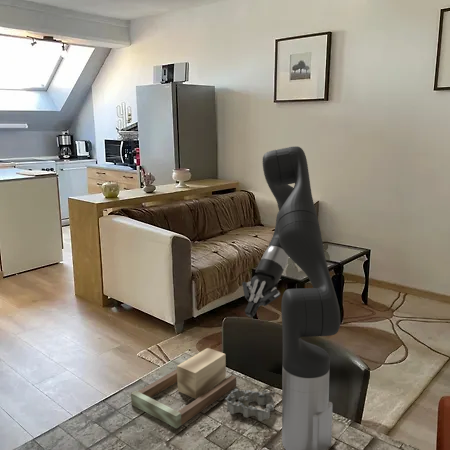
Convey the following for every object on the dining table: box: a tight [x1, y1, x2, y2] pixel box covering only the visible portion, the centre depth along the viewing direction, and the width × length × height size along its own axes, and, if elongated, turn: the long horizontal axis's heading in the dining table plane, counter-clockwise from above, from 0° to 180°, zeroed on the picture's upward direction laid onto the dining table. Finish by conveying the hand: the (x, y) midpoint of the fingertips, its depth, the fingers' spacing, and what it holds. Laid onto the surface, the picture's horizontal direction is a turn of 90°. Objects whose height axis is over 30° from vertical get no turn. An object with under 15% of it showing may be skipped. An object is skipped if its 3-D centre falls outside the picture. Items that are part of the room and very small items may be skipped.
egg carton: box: [224, 387, 276, 422], centre depth 106 cm, size 11×8×4 cm
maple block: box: [176, 347, 227, 400], centre depth 117 cm, size 6×12×7 cm, turn 143°
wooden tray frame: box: [130, 368, 237, 429], centre depth 113 cm, size 15×22×3 cm
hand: (248, 315), depth 131 cm, fingers closed
